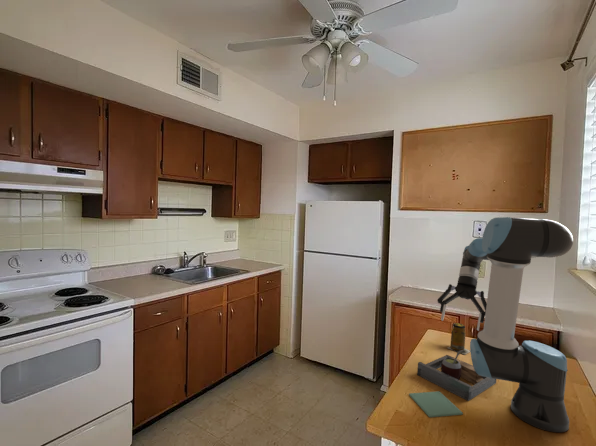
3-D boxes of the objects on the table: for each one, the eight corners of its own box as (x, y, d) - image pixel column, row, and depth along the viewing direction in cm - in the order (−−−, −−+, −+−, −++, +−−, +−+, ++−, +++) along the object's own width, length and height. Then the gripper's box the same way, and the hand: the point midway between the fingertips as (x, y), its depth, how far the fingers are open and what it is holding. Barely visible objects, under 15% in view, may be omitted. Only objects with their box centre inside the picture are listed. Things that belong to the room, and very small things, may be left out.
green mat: (462, 414, 103) (462, 412, 103) (429, 417, 100) (429, 415, 100) (439, 392, 115) (439, 391, 114) (409, 395, 112) (409, 393, 112)
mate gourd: (441, 374, 128) (444, 337, 127) (463, 380, 124) (466, 343, 123) (439, 382, 122) (441, 344, 121) (462, 389, 118) (465, 350, 117)
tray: (496, 383, 123) (497, 370, 123) (468, 401, 110) (469, 387, 110) (446, 361, 139) (447, 350, 139) (417, 374, 126) (418, 362, 126)
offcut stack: (483, 383, 123) (484, 371, 123) (477, 386, 121) (478, 373, 121) (450, 366, 135) (451, 355, 135) (444, 369, 133) (444, 358, 133)
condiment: (453, 344, 158) (455, 321, 157) (471, 351, 151) (473, 326, 151) (446, 348, 153) (448, 324, 153) (464, 355, 147) (466, 329, 146)
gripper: (500, 288, 138) (493, 336, 130) (438, 275, 151) (428, 318, 143) (501, 281, 132) (494, 331, 124) (437, 269, 145) (427, 313, 137)
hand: (459, 324), depth 133 cm, fingers open, 13 cm apart
